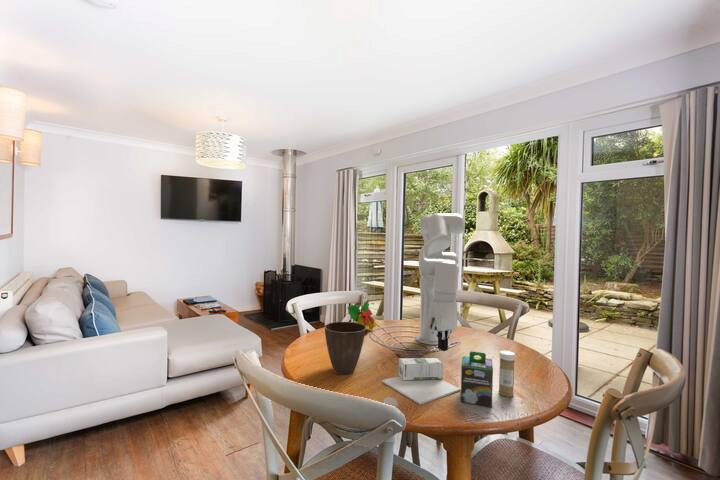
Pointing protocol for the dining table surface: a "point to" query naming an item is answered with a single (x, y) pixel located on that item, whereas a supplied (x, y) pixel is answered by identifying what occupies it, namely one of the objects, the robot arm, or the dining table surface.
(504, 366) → the sprinkles bottle
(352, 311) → the ornament
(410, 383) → the mat
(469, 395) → the chalk box
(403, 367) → the syrup box
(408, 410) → the dining table surface
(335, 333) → the plant pot
